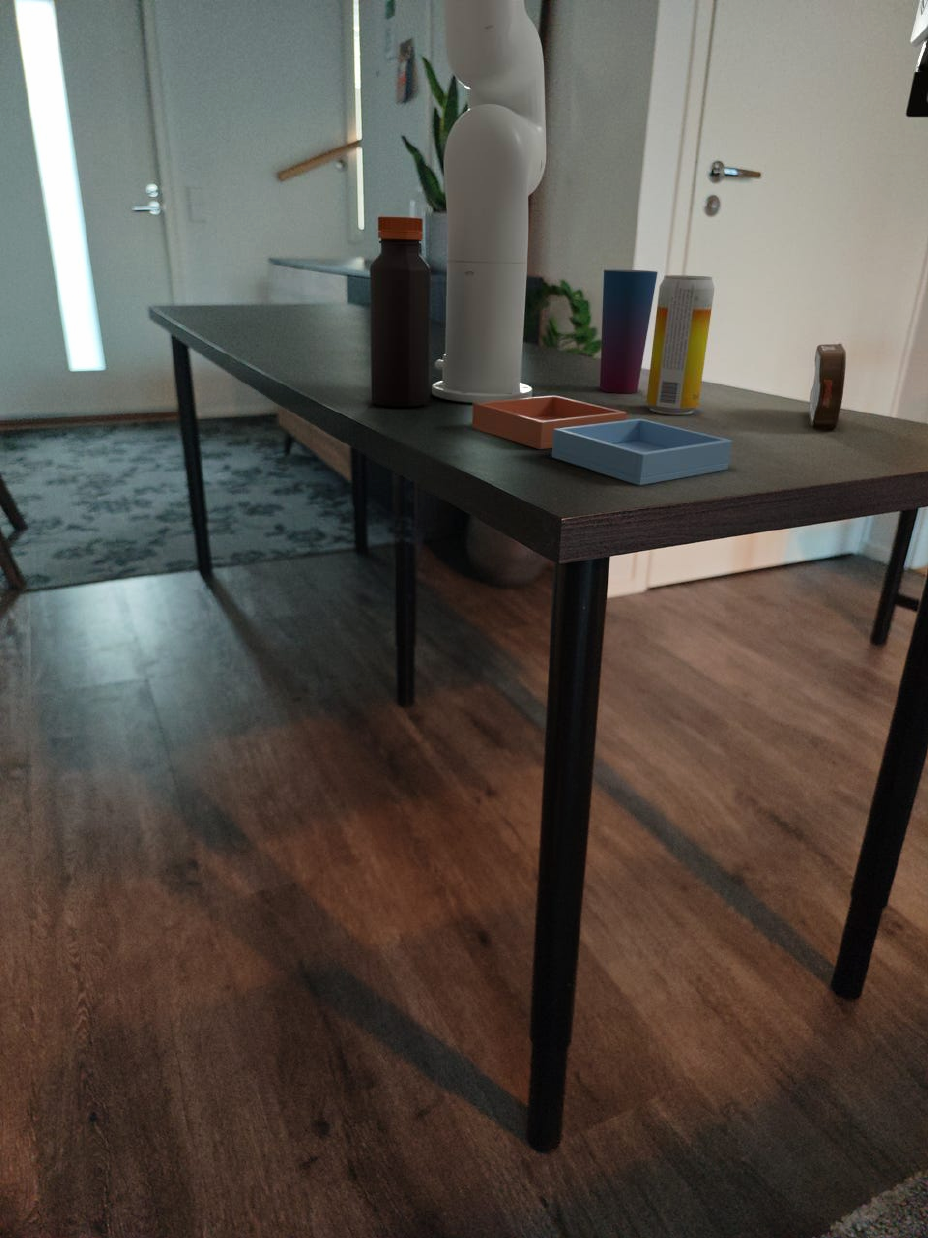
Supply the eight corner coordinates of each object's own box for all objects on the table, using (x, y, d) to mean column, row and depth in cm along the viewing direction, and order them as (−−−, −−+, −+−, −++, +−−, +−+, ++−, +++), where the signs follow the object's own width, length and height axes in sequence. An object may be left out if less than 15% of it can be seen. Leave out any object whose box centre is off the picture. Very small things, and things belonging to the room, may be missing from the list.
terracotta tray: (471, 427, 89) (472, 402, 88) (552, 418, 95) (554, 395, 94) (539, 449, 81) (541, 422, 80) (624, 438, 87) (627, 412, 86)
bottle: (373, 397, 104) (370, 216, 96) (428, 399, 104) (431, 218, 96) (369, 408, 98) (367, 215, 90) (429, 409, 98) (431, 217, 90)
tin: (837, 435, 92) (854, 354, 88) (806, 432, 93) (821, 351, 89) (830, 412, 105) (844, 340, 101) (803, 409, 106) (816, 338, 102)
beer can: (697, 408, 104) (716, 276, 98) (696, 417, 99) (715, 278, 93) (647, 404, 106) (662, 274, 100) (643, 413, 100) (659, 275, 94)
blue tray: (551, 457, 79) (553, 428, 77) (637, 444, 85) (640, 418, 83) (639, 485, 70) (643, 454, 69) (727, 469, 76) (732, 440, 75)
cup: (641, 387, 118) (654, 270, 112) (646, 395, 112) (660, 272, 106) (592, 384, 119) (602, 268, 113) (594, 392, 112) (605, 270, 106)
